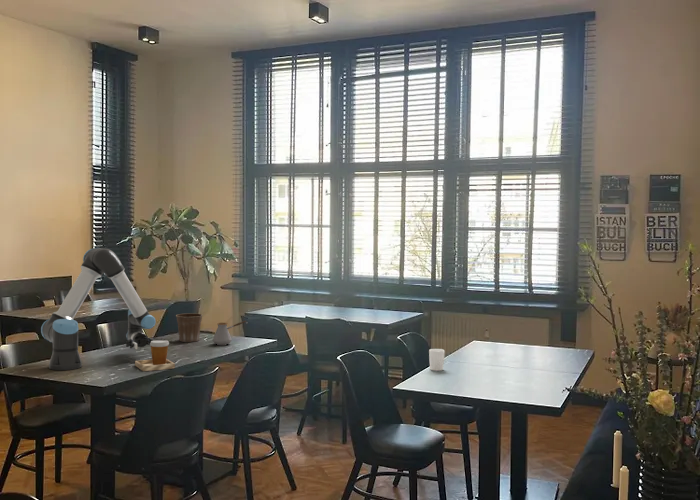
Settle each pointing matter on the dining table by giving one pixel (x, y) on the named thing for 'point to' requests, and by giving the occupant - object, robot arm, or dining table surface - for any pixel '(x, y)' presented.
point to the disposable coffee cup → (159, 351)
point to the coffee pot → (223, 334)
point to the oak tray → (148, 365)
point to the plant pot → (189, 326)
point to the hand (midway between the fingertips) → (150, 345)
